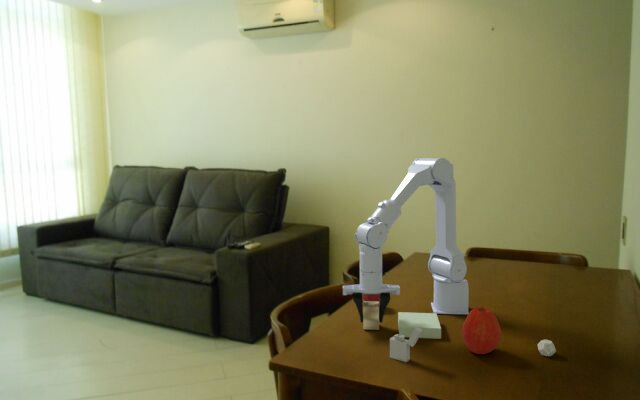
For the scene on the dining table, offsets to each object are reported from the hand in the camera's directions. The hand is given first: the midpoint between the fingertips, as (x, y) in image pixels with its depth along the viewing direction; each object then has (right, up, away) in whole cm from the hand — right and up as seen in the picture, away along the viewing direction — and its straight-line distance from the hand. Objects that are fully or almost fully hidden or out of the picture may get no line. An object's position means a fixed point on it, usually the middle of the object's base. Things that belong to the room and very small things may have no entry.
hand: (371, 321), depth 114 cm
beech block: (0, -1, 0) cm, 1 cm away
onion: (+2, 0, +15) cm, 15 cm away
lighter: (+6, -4, -18) cm, 19 cm away
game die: (+37, -3, -16) cm, 41 cm away
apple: (+23, -3, -14) cm, 27 cm away
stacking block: (+12, -2, -1) cm, 12 cm away
